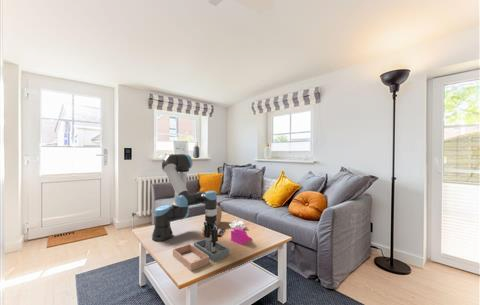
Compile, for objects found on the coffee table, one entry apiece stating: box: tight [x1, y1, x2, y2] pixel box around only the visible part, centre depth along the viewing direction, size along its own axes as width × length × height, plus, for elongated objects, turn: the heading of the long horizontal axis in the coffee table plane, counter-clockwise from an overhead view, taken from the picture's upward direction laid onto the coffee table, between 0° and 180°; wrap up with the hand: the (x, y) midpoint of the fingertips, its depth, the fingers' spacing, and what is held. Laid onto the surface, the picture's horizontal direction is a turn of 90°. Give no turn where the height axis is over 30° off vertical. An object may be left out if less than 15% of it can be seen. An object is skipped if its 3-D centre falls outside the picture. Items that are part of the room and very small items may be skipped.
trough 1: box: [172, 243, 210, 272], centre depth 130 cm, size 23×12×4 cm, turn 42°
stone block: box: [204, 236, 217, 253], centre depth 140 cm, size 5×5×8 cm
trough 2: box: [193, 238, 230, 262], centre depth 140 cm, size 23×12×4 cm, turn 42°
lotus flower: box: [228, 218, 246, 231], centre depth 181 cm, size 14×15×9 cm
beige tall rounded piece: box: [215, 203, 223, 226], centre depth 192 cm, size 17×9×23 cm, turn 164°
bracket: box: [230, 228, 252, 246], centre depth 158 cm, size 12×10×10 cm
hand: (210, 249), depth 140 cm, fingers closed on stone block, 5 cm apart
